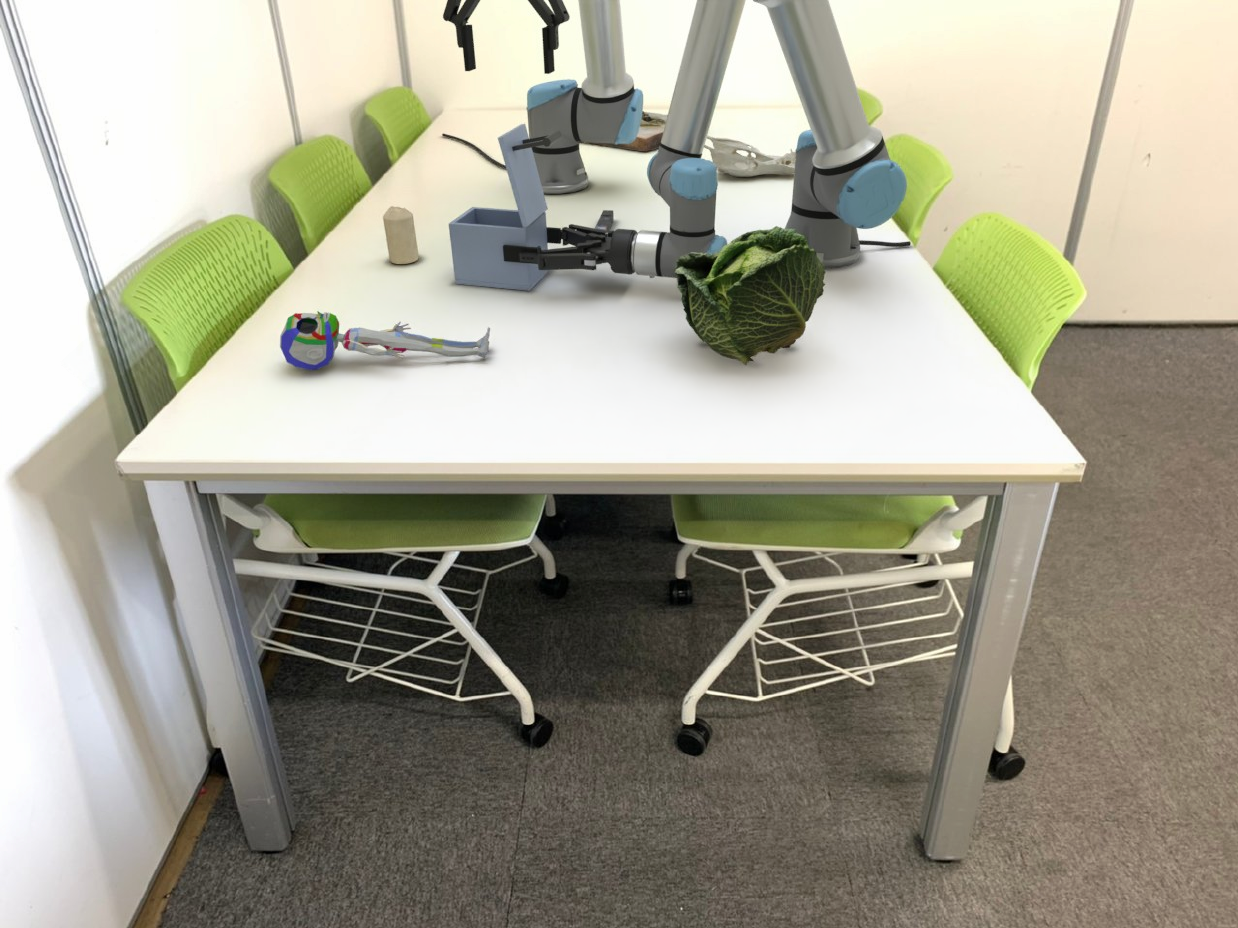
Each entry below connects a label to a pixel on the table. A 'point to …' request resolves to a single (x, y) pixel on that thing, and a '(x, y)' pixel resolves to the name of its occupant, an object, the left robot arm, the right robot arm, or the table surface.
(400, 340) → the toy
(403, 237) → the candle
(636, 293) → the table surface
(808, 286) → the vegetable
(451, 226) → the chest
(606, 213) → the pillar
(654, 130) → the plaque
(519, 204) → the lid
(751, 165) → the anatomical model
